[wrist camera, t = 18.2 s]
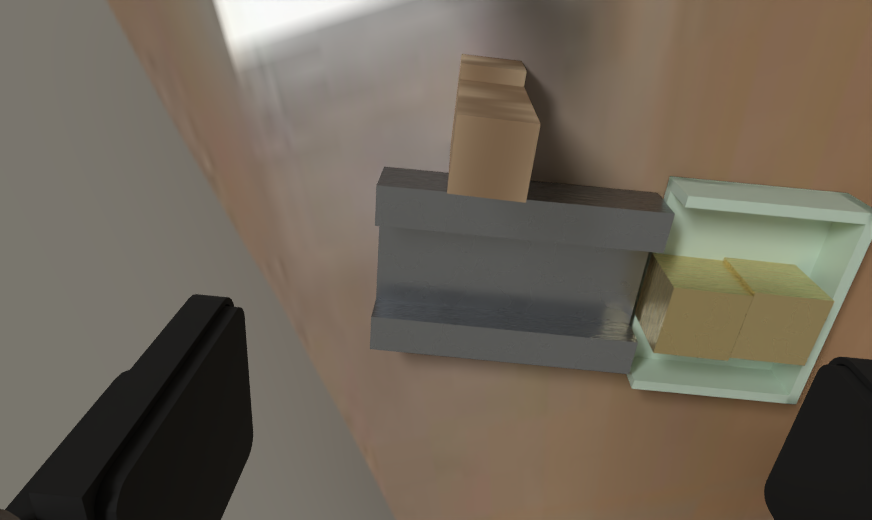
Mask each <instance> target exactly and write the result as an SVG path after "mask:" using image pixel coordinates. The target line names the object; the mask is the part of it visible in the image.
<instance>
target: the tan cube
mask: <svg viewBox="0 0 872 520" xmlns="http://www.w3.org/2000/svg"><path fill="white" fill-rule="evenodd" d="M752 299H753V295H752V294H751V293H750V292H749V290H748V289H747V288H746V287H745V286H744V285H743V283H742V282H741V281H740V280H739V279H738V278H737V276H736V275H735V274H734V273H733V272H732V270H731V269H730V268H729V267H728V266H727V265H726V263H725V262H724V261H723V260H714V259H705V258H696V257H687V256H677V255H668V254H659V253H652V255H651V258H650V262H649V265H648V269H647V272H646V275H645V279H644V282H643V286H642V289H641V293H640V296H639V299H638V303H637V306H636V310H635V315H636V317H637V319H638V321H639V324H640V326H641V328H642V330H643V332H644V334H645V336H646V338H647V340H648V343H649V345H650V347H651V349H652V351H653V353H659V354H669V355H678V356H687V357H696V358H706V359H715V360H724V361H728V360H729V357H730V355H731V352H732V350H733V347H734V345H735V342H736V340H737V337H738V335H739V332H740V329H741V327H742V324H743V322H744V319H745V317H746V314H747V312H748V309H749V307H750V304H751V302H752Z"/></svg>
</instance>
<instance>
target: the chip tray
mask: <svg viewBox="0 0 872 520" xmlns="http://www.w3.org/2000/svg"><path fill="white" fill-rule="evenodd" d="M664 201H665V202H666V204H667V205H668V206H669V207H670V208H671V210H672V211H673V212H674V213H675V216H674V219H673V223H672V226H671V230H670V233H669V236H668V240H667V243H666V247H665V250H664V253H659V254H668V255H677V256H687V257H696V258H705V259H714V260H723V259H724V257H728V258H738V259H747V260H756V261H765V262H775V263H784V264H793V265H796V266H797V267H798V268H799V269H800V270H802V271H803V272H804V273H805V274H806V275H807V276H808V277H809V278H810V279H811V280H812V281H813V282H815V283H816V284H817V285H818V286H819V287H820V288H821V289H822V290H823V291H824V292H825V293H826V294H827V295H829V296H830V297H831V298H832V299H833V300H834V301H835V302H834V304H833V306H832V308H831V310H830V313H829V315H828V317H827V319H826V321H825V323H824V325H823V327H822V330H821V332H820V334H819V336H818V338H817V340H816V342H815V345H814V347H813V349H812V351H811V353H810V355H809V357H808V360H807V362H806V364H805V366H802V365H793V364H783V363H774V362H765V361H756V360H746V359H737V358H730V357H729V360H728V361H724V360H715V359H706V358H696V357H687V356H678V355H669V354H659V353H653V351H652V349H651V347H650V345H649V343H648V340H647V338H646V336H645V334H644V332H643V330H642V328H641V326H640V324H639V321H638V319H637V317H636V315H635V310H636V306H637V303H638V299H639V296H640V293H641V289H642V286H643V282H644V279H645V275H646V272H647V269H648V265H649V262H650V258H651V255H652V253H656V252H649V254H648V258H647V262H646V265H645V269H644V273H643V276H642V280H641V283H640V287H639V291H638V294H637V298H636V302H635V305H634V309H633V313H632V316H631V320H630V326H631V328H632V330H633V333H634V335H635V337H636V339H637V341H638V344H637V348H636V351H635V355H634V358H633V362H632V365H631V369H630V372H629V374H626V375H627V377H628V380H629V382H630V385H631V388H632V389H642V390H652V391H663V392H673V393H683V394H694V395H704V396H714V397H724V398H735V399H745V400H755V401H766V402H776V403H786V404H796V403H797V401H798V399H799V397H800V395H801V392H802V390H803V388H804V386H805V384H806V382H807V379H808V377H809V375H810V373H811V371H812V368H813V366H814V364H815V362H816V360H817V358H818V355H819V353H820V351H821V349H822V347H823V345H824V342H825V340H826V338H827V336H828V334H829V331H830V329H831V327H832V325H833V323H834V321H835V318H836V316H837V314H838V312H839V310H840V308H841V305H842V303H843V301H844V299H845V297H846V294H847V292H848V290H849V288H850V286H851V284H852V281H853V279H854V277H855V275H856V273H857V271H858V268H859V266H860V264H861V262H862V260H863V257H864V255H865V253H866V251H867V249H868V247H869V244H870V242H871V240H872V207H870V206H868V205H867V204H865V203H863V202H862V201H860V200H859V199H857V198H855V197H854V196H852V195H850V194H849V193H840V192H830V191H819V190H809V189H798V188H788V187H777V186H767V185H756V184H746V183H736V182H725V181H715V180H704V179H694V178H683V177H673V176H670V178H669V182H668V185H667V189H666V192H665V196H664Z"/></svg>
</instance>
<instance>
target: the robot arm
mask: <svg viewBox="0 0 872 520" xmlns="http://www.w3.org/2000/svg"><path fill="white" fill-rule="evenodd" d="M252 442H253V424H252V411H251V398H250V385H249V370H248V357H247V344H246V330H245V316H244V311H243V309H242V308H240V307H234V304H233V302H232V299H230V298H228V297H218V296H208V295H198V294H196V295H192V296H191V297H190V298H189V299H188V300H187V301H186V303H185V304H184V305H183V306H182V307H181V309H180V310H179V311H178V312H177V314H176V315H175V316H174V317H173V319H172V320H171V321H170V322H169V323H168V324H167V326H166V327H165V328H164V329H163V330H162V332H161V333H160V334H159V335H158V337H157V338H156V339H155V340H154V341H153V343H152V344H151V345H150V346H149V347H148V349H147V350H146V351H145V352H144V353H143V355H142V356H141V357H140V358H139V360H138V361H137V362H136V363H135V364H134V366H133V367H132V368H131V369H130V370H128V371H125V372H123V373H121V374H120V375H119V376H118V377H117V378H116V379H115V380H114V381H113V382H112V383H111V385H110V386H109V387H108V388H107V389H106V391H105V392H104V393H103V394H102V395H101V396H100V398H99V399H98V400H97V401H96V402H95V404H94V405H93V406H92V407H91V408H90V410H89V411H88V412H87V413H86V414H85V415H84V417H83V418H82V419H81V420H80V421H79V423H78V424H77V425H76V426H75V427H74V429H73V430H72V431H71V432H70V433H69V434H68V436H67V437H66V438H65V439H64V440H63V442H62V443H61V444H60V445H59V446H58V448H57V449H56V450H55V451H54V452H53V453H52V455H51V456H50V457H49V458H48V459H47V460H46V462H45V463H44V464H43V465H42V466H41V468H40V469H39V470H38V471H37V472H36V473H35V475H34V476H33V477H32V478H31V479H30V481H29V482H28V483H27V484H26V485H25V486H24V488H23V489H22V490H21V491H20V493H19V494H18V495H17V496H16V497H15V498H14V500H13V501H12V502H11V503H10V504H9V505H8V507H7V508H6V509H5V510H3V509H0V520H221V518H222V516H223V513H224V511H225V509H226V507H227V504H228V502H229V500H230V497H231V495H232V493H233V491H234V489H235V486H236V484H237V482H238V480H239V477H240V475H241V473H242V471H243V468H244V466H245V464H246V461H247V459H248V457H249V454H250V451H251V447H252ZM764 495H765V501H766V504H767V507H768V509H769V511H770V513H771V514H772V516H773V518H774V520H872V360H869V359H859V358H848V357H837V358H834V359H833V360H832V361H830V363H829V364H827V365H823V366H822V367H821V368H820V369H819V370H818V372H817V374H816V376H815V378H814V380H813V382H812V385H811V387H810V389H809V391H808V393H807V395H806V397H805V400H804V402H803V404H802V406H801V408H800V410H799V413H798V415H797V417H796V419H795V421H794V423H793V425H792V428H791V430H790V432H789V434H788V436H787V438H786V440H785V443H784V445H783V447H782V449H781V451H780V453H779V455H778V458H777V460H776V462H775V464H774V466H773V468H772V471H771V473H770V475H769V477H768V479H767V481H766V484H765V490H764Z"/></svg>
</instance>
